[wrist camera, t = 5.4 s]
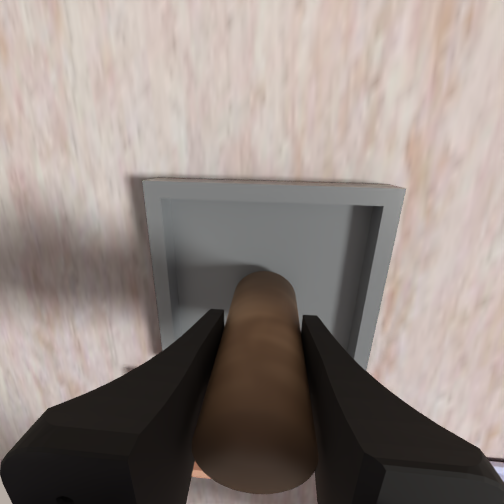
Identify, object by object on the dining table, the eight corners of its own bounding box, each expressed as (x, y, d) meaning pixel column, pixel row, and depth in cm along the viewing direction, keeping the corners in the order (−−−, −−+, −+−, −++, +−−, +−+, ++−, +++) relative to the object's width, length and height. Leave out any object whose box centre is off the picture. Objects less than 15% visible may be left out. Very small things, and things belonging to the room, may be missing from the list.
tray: (389, 184, 13) (406, 188, 12) (352, 370, 17) (361, 393, 16) (157, 177, 14) (142, 180, 12) (175, 356, 18) (165, 377, 17)
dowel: (300, 275, 14) (330, 420, 6) (290, 328, 15) (306, 502, 8) (236, 267, 14) (192, 400, 7) (231, 320, 15) (190, 483, 8)
